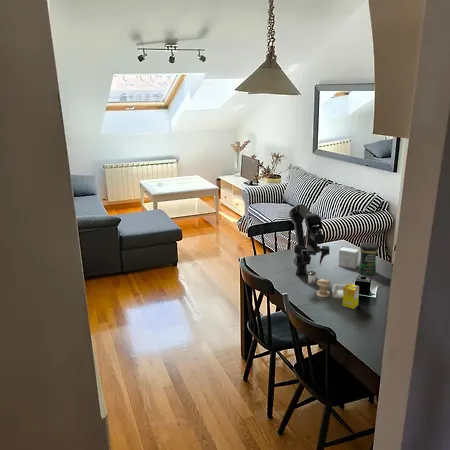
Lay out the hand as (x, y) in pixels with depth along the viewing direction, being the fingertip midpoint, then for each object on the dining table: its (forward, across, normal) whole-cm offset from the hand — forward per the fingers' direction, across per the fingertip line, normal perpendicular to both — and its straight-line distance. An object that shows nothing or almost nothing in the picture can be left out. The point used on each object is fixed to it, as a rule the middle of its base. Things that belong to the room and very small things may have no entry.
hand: (311, 264), depth 236 cm
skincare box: (+13, +22, +30) cm, 39 cm away
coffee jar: (+13, +32, +20) cm, 40 cm away
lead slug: (+12, 0, 0) cm, 12 cm away
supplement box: (+12, +20, -23) cm, 33 cm away
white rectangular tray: (+12, +18, -9) cm, 23 cm away
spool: (+12, +7, -12) cm, 18 cm away
